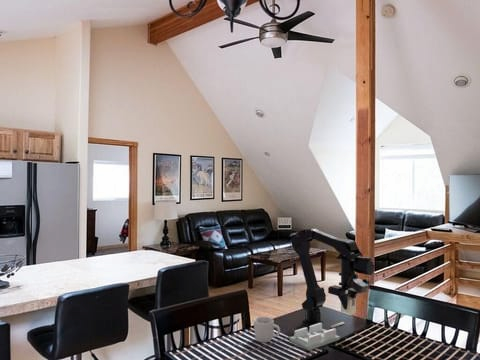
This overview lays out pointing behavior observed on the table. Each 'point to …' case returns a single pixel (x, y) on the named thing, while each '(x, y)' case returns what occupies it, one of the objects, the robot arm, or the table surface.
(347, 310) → the plug
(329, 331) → the board
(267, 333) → the cup
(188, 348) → the table surface
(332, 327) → the lead
